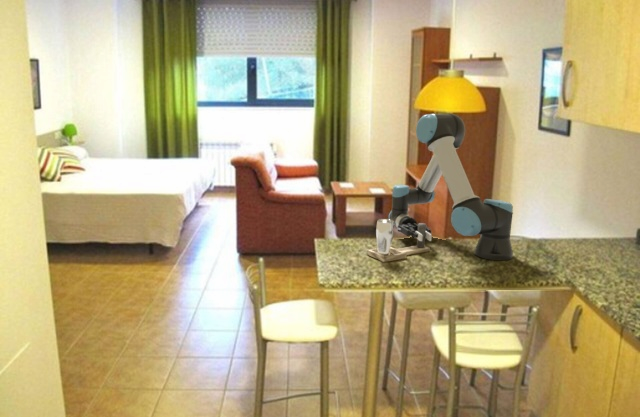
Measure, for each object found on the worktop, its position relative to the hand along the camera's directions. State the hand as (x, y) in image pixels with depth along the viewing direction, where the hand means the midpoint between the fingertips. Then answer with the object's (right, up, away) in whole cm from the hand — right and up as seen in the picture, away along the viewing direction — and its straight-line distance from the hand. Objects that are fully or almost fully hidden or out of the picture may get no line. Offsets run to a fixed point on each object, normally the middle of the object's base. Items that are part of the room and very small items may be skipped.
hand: (426, 237), depth 245 cm
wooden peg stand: (-11, -7, +1) cm, 13 cm away
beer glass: (-18, -8, -4) cm, 20 cm away
